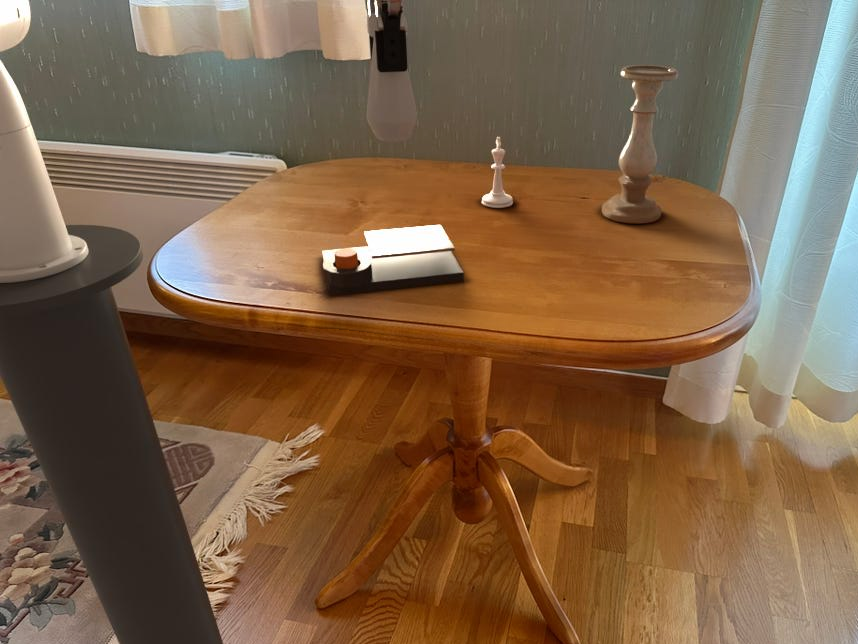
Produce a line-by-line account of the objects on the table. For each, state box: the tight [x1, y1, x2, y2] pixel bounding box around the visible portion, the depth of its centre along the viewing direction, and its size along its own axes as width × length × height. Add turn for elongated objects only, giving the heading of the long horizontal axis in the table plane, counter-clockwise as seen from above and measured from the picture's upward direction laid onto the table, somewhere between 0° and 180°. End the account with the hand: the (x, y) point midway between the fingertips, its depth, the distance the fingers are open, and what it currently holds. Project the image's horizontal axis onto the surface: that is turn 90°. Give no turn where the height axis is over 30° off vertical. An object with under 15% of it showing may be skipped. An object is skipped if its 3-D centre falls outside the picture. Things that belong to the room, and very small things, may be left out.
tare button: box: [334, 247, 358, 269], centre depth 78 cm, size 3×3×2 cm
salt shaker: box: [365, 12, 419, 142], centre depth 75 cm, size 6×6×13 cm
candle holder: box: [601, 64, 679, 224], centre depth 96 cm, size 9×9×20 cm
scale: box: [321, 245, 465, 297], centre depth 83 cm, size 16×12×3 cm
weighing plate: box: [363, 224, 456, 259], centre depth 84 cm, size 10×8×1 cm
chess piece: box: [481, 136, 514, 209], centre depth 103 cm, size 5×5×10 cm
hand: (388, 65), depth 75 cm, fingers closed on salt shaker, 4 cm apart
